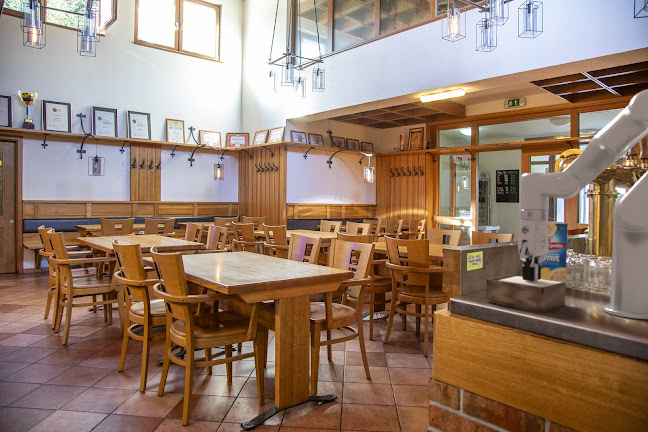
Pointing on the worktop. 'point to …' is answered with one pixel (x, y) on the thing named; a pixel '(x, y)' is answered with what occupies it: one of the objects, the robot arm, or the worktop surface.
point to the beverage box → (555, 253)
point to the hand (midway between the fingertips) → (531, 279)
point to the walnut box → (525, 295)
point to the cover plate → (538, 284)
